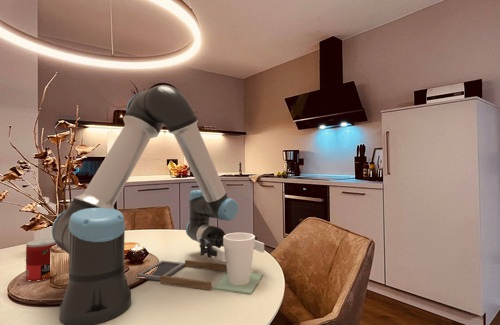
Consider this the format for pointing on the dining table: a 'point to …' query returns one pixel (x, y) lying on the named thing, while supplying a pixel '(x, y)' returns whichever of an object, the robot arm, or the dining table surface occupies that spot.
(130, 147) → the robot arm
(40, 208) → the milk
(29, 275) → the canned food
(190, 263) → the channel rails
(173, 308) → the dining table surface
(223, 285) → the pad
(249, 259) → the foam cup
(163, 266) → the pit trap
